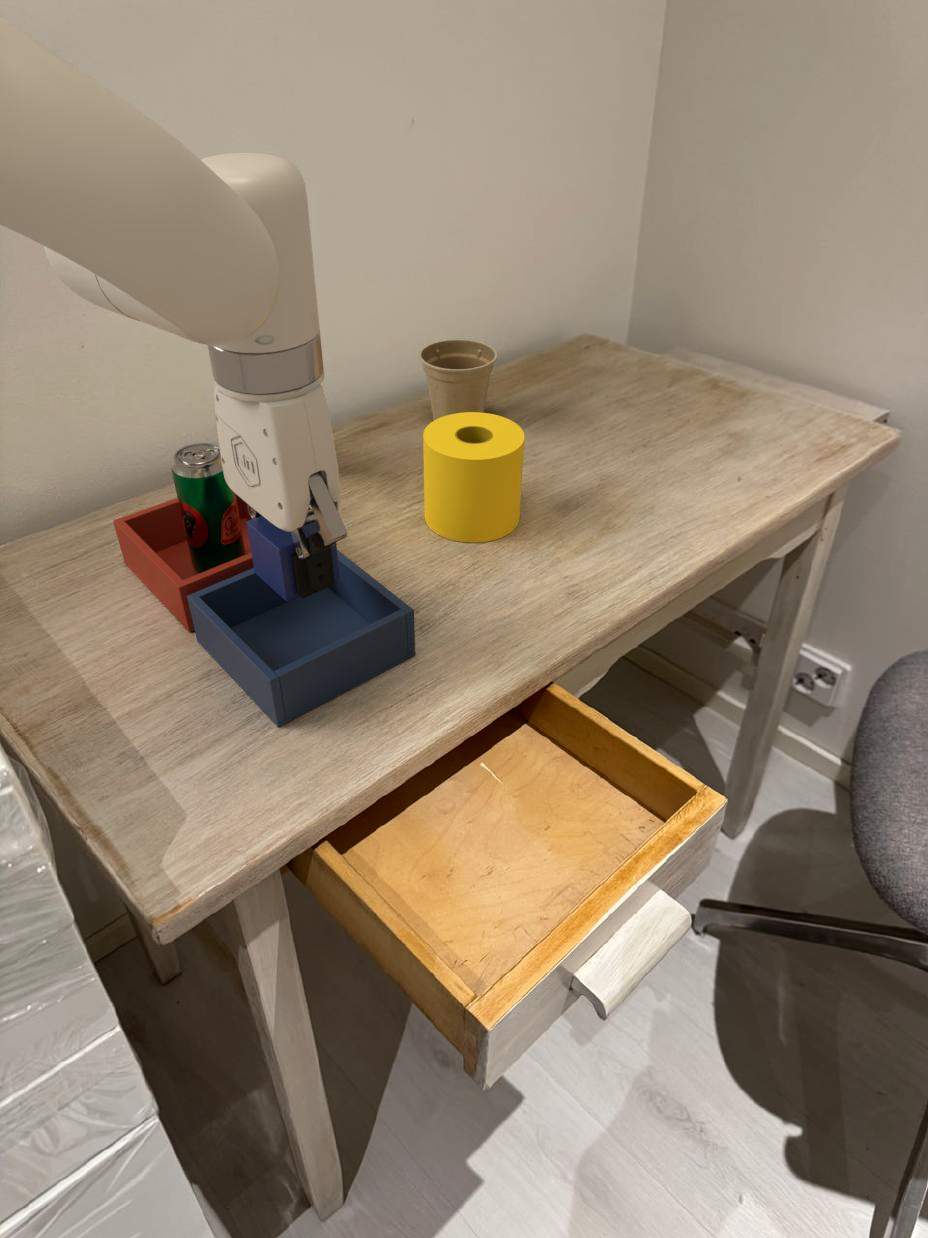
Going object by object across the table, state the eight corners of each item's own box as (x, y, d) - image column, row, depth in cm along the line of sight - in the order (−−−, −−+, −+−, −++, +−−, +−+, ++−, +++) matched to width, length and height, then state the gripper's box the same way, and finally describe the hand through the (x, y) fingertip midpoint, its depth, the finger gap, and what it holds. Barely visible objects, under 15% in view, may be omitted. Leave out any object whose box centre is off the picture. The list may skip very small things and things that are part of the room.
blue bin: (278, 728, 70) (270, 681, 67) (196, 641, 78) (186, 595, 75) (415, 655, 77) (414, 609, 74) (327, 582, 85) (323, 538, 82)
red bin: (189, 633, 79) (178, 587, 76) (124, 563, 87) (112, 520, 84) (319, 575, 86) (314, 531, 82) (248, 516, 94) (241, 474, 90)
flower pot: (405, 425, 110) (402, 357, 105) (446, 397, 116) (445, 332, 111) (470, 445, 106) (471, 376, 101) (508, 415, 112) (512, 348, 107)
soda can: (241, 581, 84) (221, 468, 76) (187, 580, 84) (161, 467, 76) (251, 550, 88) (233, 440, 80) (200, 550, 88) (177, 439, 80)
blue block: (286, 602, 70) (279, 549, 67) (254, 573, 73) (245, 521, 70) (340, 578, 72) (334, 526, 69) (306, 550, 75) (300, 500, 72)
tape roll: (538, 525, 93) (544, 443, 87) (455, 552, 89) (455, 469, 83) (487, 482, 99) (489, 404, 93) (407, 506, 95) (405, 425, 89)
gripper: (160, 334, 64) (204, 544, 76) (285, 418, 54) (314, 646, 65) (252, 310, 68) (281, 513, 79) (385, 385, 58) (396, 605, 69)
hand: (296, 571), depth 72 cm, fingers closed on blue block, 5 cm apart
